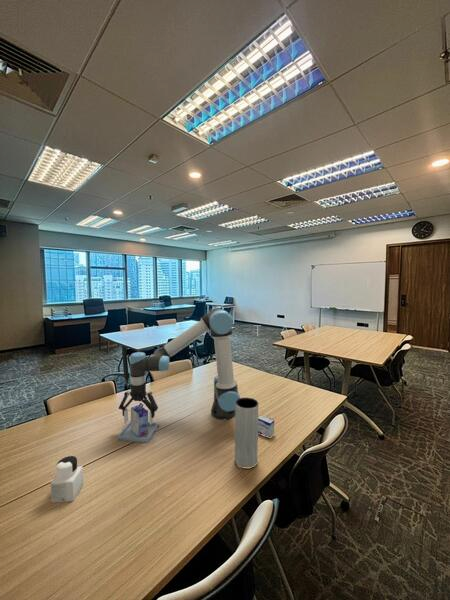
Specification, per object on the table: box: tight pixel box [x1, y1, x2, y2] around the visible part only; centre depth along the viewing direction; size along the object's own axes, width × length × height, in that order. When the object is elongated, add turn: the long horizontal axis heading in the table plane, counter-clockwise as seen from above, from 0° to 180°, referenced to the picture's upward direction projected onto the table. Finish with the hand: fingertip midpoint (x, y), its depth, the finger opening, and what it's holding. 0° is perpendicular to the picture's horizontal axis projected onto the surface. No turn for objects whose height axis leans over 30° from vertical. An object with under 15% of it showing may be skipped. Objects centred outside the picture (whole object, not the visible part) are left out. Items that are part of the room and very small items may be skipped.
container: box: [50, 455, 84, 503], centre depth 94 cm, size 8×8×13 cm
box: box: [258, 415, 275, 437], centre depth 132 cm, size 8×4×9 cm, turn 52°
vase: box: [234, 397, 259, 467], centre depth 111 cm, size 10×10×27 cm
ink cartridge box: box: [130, 402, 149, 437], centre depth 132 cm, size 10×6×14 cm, turn 44°
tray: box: [116, 420, 159, 443], centre depth 132 cm, size 16×14×2 cm
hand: (138, 422), depth 132 cm, fingers open, 13 cm apart
